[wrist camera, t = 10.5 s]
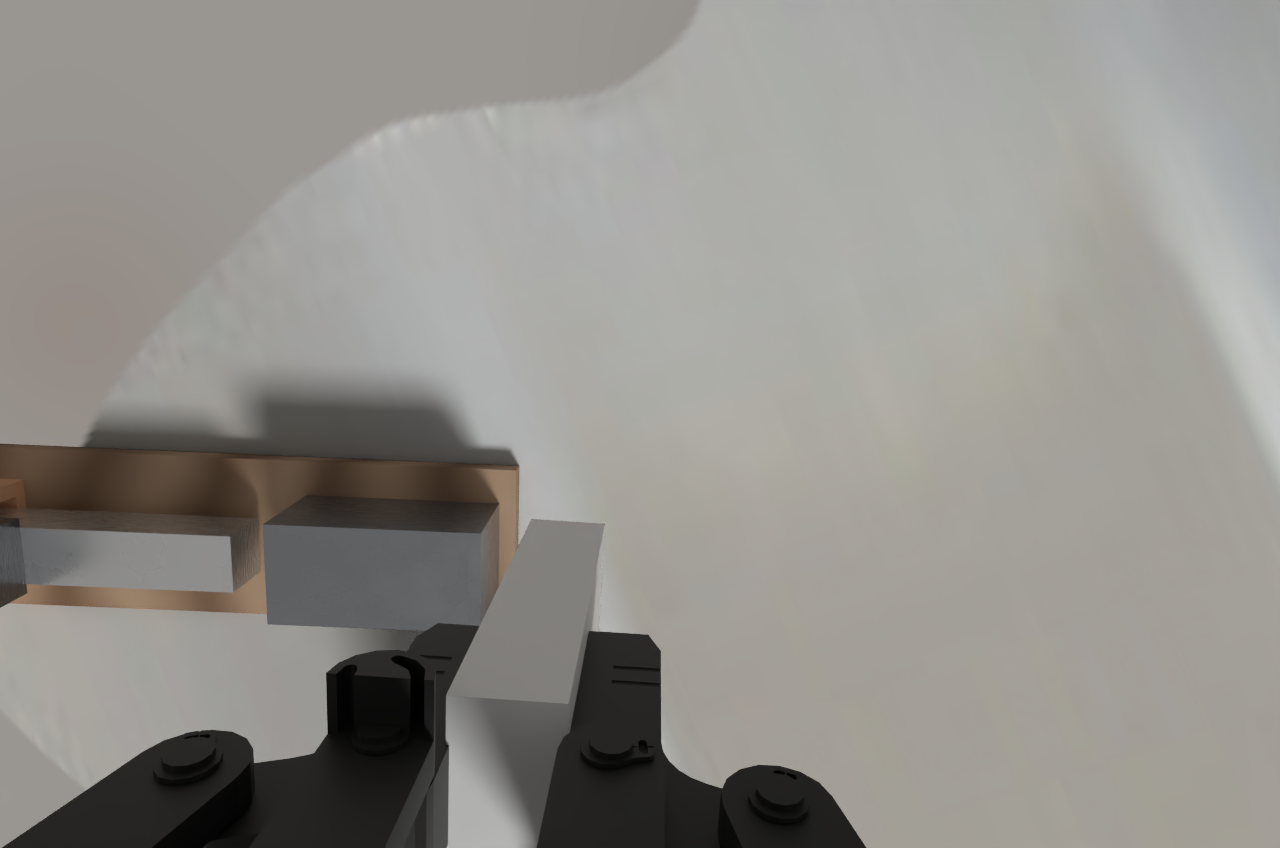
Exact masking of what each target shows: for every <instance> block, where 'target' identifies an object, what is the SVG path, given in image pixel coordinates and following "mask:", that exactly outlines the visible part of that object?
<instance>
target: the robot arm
mask: <svg viewBox="0 0 1280 848" xmlns="http://www.w3.org/2000/svg"><path fill="white" fill-rule="evenodd" d="M604 532H605V524H597V523H582V522H567V521H552V520H537V519H531V521H530V523H529V525H528V528H527V530H526V532H525V534H524V536H523V538H522V540H521V542H520V544H519V546H518V548H517V550H516V552H515V554H514V556H513V558H512V561H511V563H510V565H509V567H508V569H507V571H506V573H505V575H504V577H503V579H502V581H501V583H500V585H499V587H498V589H497V591H496V593H495V596H494V598H493V600H492V602H491V604H490V606H489V608H488V610H487V612H486V614H485V616H484V618H483V620H482V622H481V624H480V626H474V625H460V624H445V623H437V624H436V625H434V626H433V627H431V628H429V629H428V630H426V631H425V632H423V633H422V634H420V635H419V636H417V637H416V638H415V640H414V641H413V643H412V644H411V646H410V648H409V649H408V651H407V652H405V651H400V650H386V651H374V652H369V653H364V654H360V655H356V656H353V657H351V658H349V659H346V660H344V661H342V662H340V663H338V664H337V665H336V666H334V667H333V668H332V669H331V670H330V671H328V672H327V673H326V680H327V720H328V734H327V736H326V737H325V738H324V740H323V741H322V743H321V744H320V746H319V747H318V749H317V750H316V752H315V753H313V754H310V755H305V756H300V757H296V758H290V759H282V760H275V761H268V762H261V763H254V758H253V748H252V746H251V745H250V743H249V741H248V740H247V738H245V737H242V736H240V735H238V734H236V733H234V732H228V731H217V730H205V731H200V732H198V731H195V732H190V733H185V734H183V735H180V736H177V737H174V738H171V739H168V740H164V741H162V742H161V743H159V744H157V745H155V746H153V747H151V748H149V749H147V750H146V751H144V752H142V753H141V754H139V755H138V756H136V757H135V758H133V759H132V760H130V761H129V762H127V763H126V764H124V765H123V766H121V767H120V768H119V769H117V770H116V771H114V772H113V773H111V774H110V775H108V776H107V777H105V778H104V779H102V780H101V781H99V782H98V783H96V784H95V785H94V786H92V787H91V788H89V789H88V790H86V791H85V792H83V793H82V794H80V795H79V796H77V797H76V798H74V799H73V800H71V801H70V802H69V803H67V804H66V805H64V806H63V807H61V808H60V809H58V810H57V811H55V812H54V813H52V814H51V815H49V816H48V817H47V818H45V819H44V820H42V821H41V822H39V823H38V824H36V825H35V826H33V827H32V828H30V829H29V830H27V831H26V832H24V833H23V834H22V835H20V836H19V837H17V838H16V839H14V840H13V841H11V842H10V843H8V844H7V845H5V846H4V847H2V848H866V847H865V845H864V844H863V842H862V841H861V839H860V838H859V836H858V835H857V833H856V832H855V830H854V829H853V827H852V826H851V824H850V823H849V821H848V820H847V818H846V817H845V815H844V814H843V812H842V811H841V809H840V808H839V806H838V804H837V803H836V801H835V800H834V798H833V797H832V796H831V795H830V794H829V793H828V792H827V791H826V789H825V788H824V787H823V786H822V785H821V784H820V783H819V782H817V781H815V780H813V779H812V778H810V777H808V776H806V775H805V774H803V773H801V772H799V771H795V770H792V769H788V768H785V767H781V766H768V765H757V766H752V767H748V768H744V769H740V770H739V771H737V772H736V773H734V774H733V775H731V776H730V777H729V778H727V780H726V782H725V784H724V786H723V789H722V788H718V787H715V786H712V785H708V784H705V783H703V782H700V781H698V780H695V779H693V778H690V777H689V776H687V775H686V774H684V773H682V772H681V771H679V770H678V769H677V768H676V767H675V766H674V765H672V764H671V763H670V762H669V761H668V759H667V757H666V756H665V754H664V752H663V749H662V744H661V672H660V671H661V651H660V650H659V648H658V647H657V646H656V644H655V643H654V642H653V641H652V639H651V638H650V637H649V635H642V634H627V633H612V632H599V624H600V606H601V587H602V569H603V550H604Z"/></svg>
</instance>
